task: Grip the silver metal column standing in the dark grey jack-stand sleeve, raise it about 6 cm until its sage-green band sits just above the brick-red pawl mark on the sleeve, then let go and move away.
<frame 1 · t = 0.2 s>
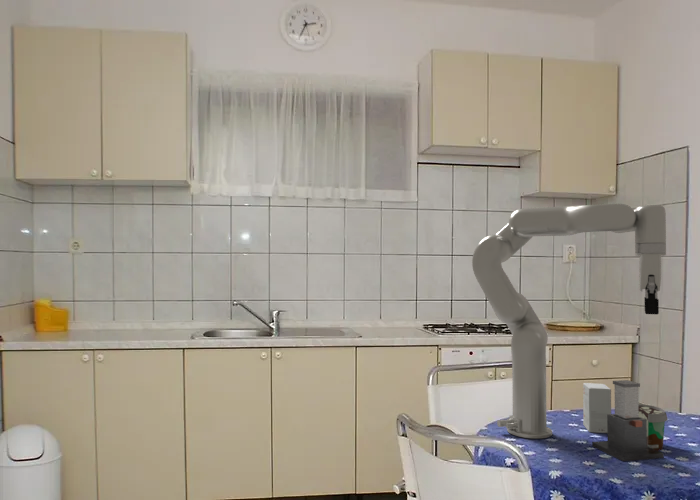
hand: (651, 312, 154), 36 cm above the table, tool pointing down, fingers open, 9 cm apart
food container: (654, 446, 153), on the table
small box: (597, 430, 169), on the table
column: (626, 414, 149), point 10 cm above the table, slide at 0.0 cm
stand: (626, 452, 148), on the table
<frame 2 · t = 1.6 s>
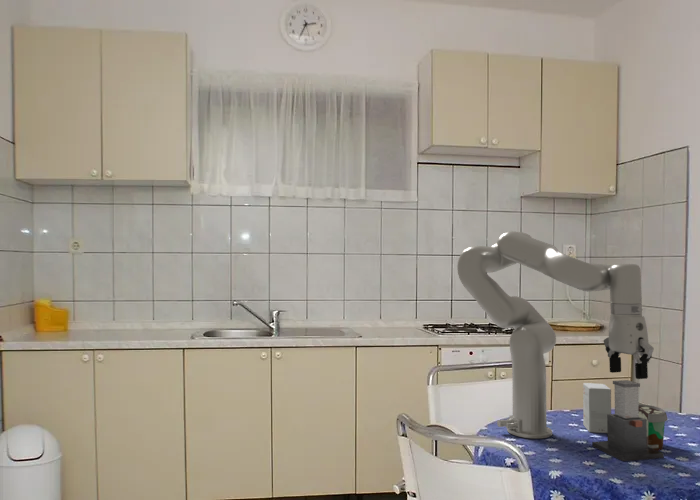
hand: (628, 375, 149), 20 cm above the table, tool pointing down, fingers open, 9 cm apart
nothing on the table moved.
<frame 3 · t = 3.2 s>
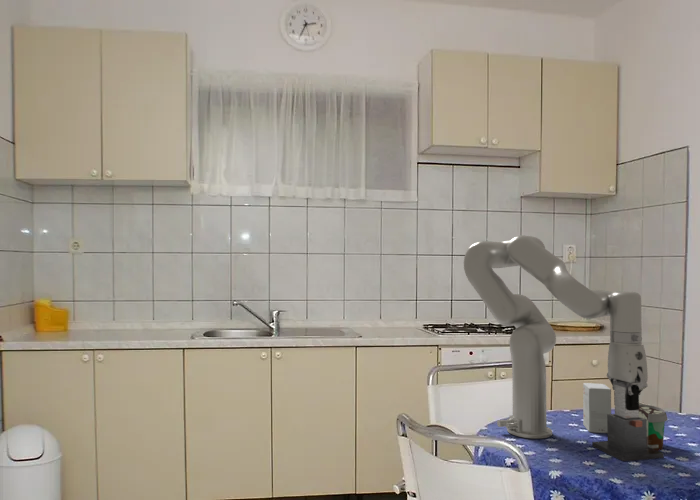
hand: (626, 406, 149), 12 cm above the table, tool pointing down, fingers closed on column, 4 cm apart
column: (626, 414, 149), point 10 cm above the table, slide at 0.0 cm, touching gripper
everything else where it was.
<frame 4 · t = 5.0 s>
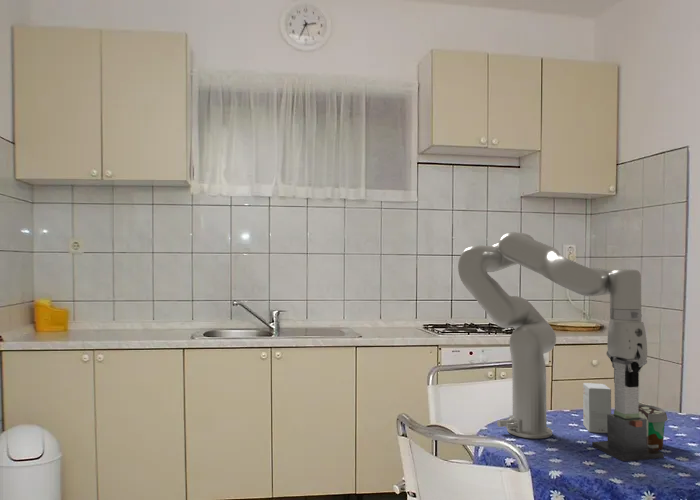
hand: (626, 384, 149), 18 cm above the table, tool pointing down, fingers closed on column, 4 cm apart
column: (626, 391, 149), point 16 cm above the table, slide at 5.9 cm, touching gripper
everything else where it was.
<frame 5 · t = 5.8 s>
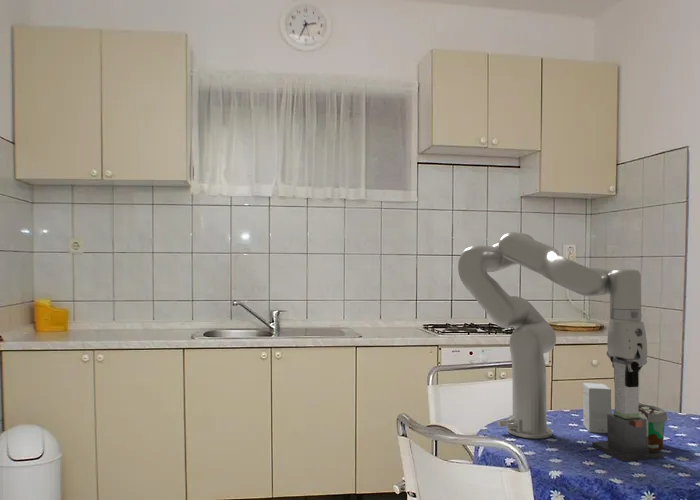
hand: (626, 384, 149), 18 cm above the table, tool pointing down, fingers closed on column, 4 cm apart
column: (626, 391, 149), point 16 cm above the table, slide at 6.0 cm, touching gripper
everything else where it was.
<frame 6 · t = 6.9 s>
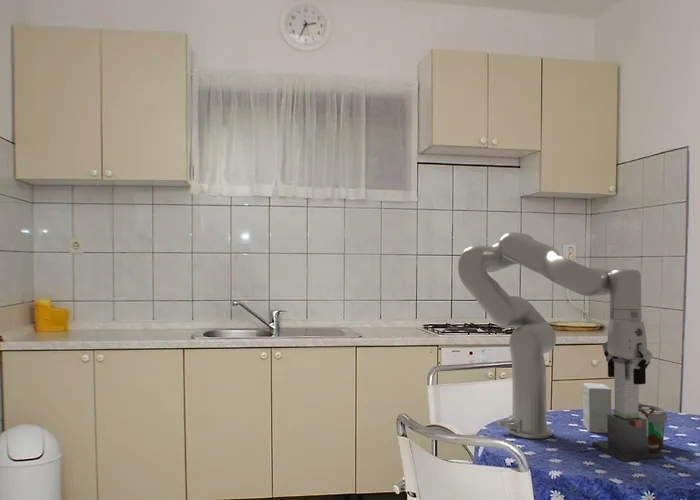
hand: (626, 380, 149), 19 cm above the table, tool pointing down, fingers open, 9 cm apart
column: (626, 391, 149), point 16 cm above the table, slide at 6.0 cm
everything else where it was.
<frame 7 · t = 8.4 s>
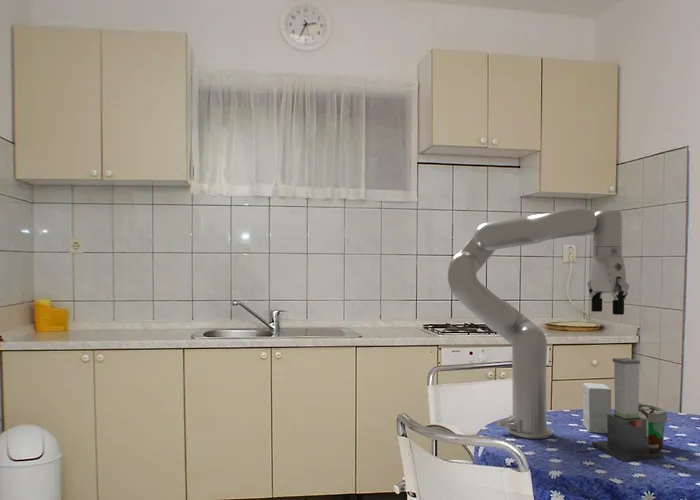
hand: (607, 312, 161), 36 cm above the table, tool pointing down, fingers open, 9 cm apart
nothing on the table moved.
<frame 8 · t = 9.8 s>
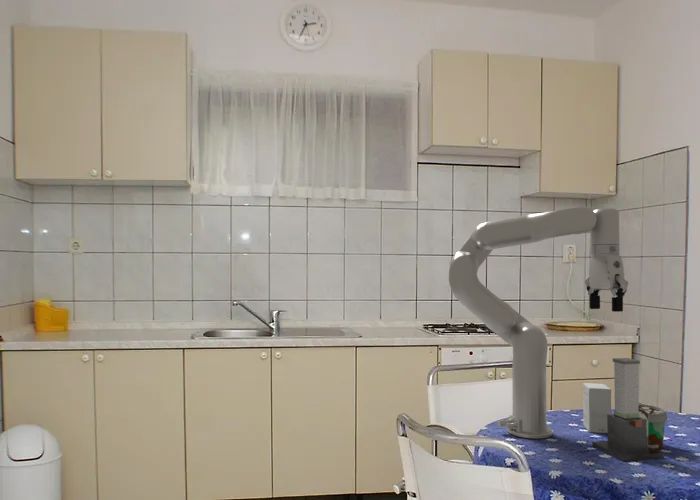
hand: (605, 310, 163), 36 cm above the table, tool pointing down, fingers open, 9 cm apart
nothing on the table moved.
at the end: column slide at 6.0 cm; the gripper is holding nothing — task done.
